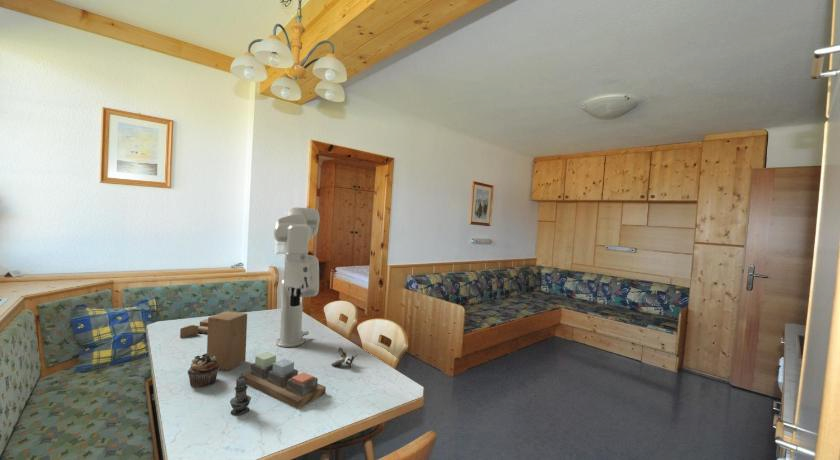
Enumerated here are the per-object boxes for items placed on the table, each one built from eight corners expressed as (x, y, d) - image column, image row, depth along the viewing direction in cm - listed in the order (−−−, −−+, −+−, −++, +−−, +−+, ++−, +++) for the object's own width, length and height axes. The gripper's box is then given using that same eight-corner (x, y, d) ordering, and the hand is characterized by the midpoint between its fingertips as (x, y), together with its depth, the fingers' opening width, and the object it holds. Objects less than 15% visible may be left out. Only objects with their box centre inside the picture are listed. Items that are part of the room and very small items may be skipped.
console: (270, 370, 136) (271, 355, 136) (325, 393, 121) (326, 376, 121) (241, 381, 126) (241, 365, 126) (297, 409, 111) (298, 390, 111)
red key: (302, 383, 122) (303, 372, 122) (312, 387, 119) (313, 376, 119) (291, 389, 118) (291, 377, 117) (301, 393, 115) (301, 381, 115)
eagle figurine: (357, 359, 148) (339, 352, 151) (356, 349, 144) (337, 342, 147) (348, 375, 143) (329, 367, 145) (346, 365, 138) (327, 357, 141)
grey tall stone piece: (234, 405, 111) (236, 368, 110) (253, 406, 111) (255, 369, 111) (225, 416, 105) (227, 377, 104) (246, 416, 105) (247, 377, 105)
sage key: (267, 362, 132) (267, 352, 132) (275, 365, 129) (276, 355, 129) (254, 366, 128) (255, 356, 128) (263, 370, 125) (264, 359, 125)
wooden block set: (204, 316, 181) (236, 320, 179) (204, 327, 182) (236, 330, 179) (178, 326, 165) (213, 330, 162) (177, 338, 165) (212, 342, 163)
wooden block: (227, 371, 134) (229, 319, 133) (205, 367, 136) (207, 317, 135) (245, 361, 143) (247, 313, 143) (224, 357, 145) (226, 310, 145)
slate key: (284, 369, 127) (284, 358, 127) (293, 373, 124) (294, 362, 124) (272, 374, 123) (272, 363, 122) (281, 378, 120) (282, 367, 120)
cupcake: (225, 378, 128) (226, 352, 127) (202, 391, 118) (203, 362, 118) (204, 374, 130) (205, 348, 130) (180, 386, 121) (181, 357, 121)
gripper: (318, 259, 131) (316, 307, 132) (292, 255, 139) (289, 300, 139) (302, 260, 125) (300, 311, 125) (275, 256, 132) (273, 304, 133)
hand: (294, 305), depth 132 cm, fingers closed
